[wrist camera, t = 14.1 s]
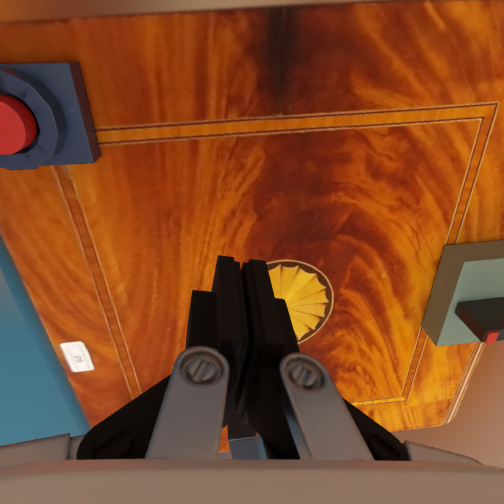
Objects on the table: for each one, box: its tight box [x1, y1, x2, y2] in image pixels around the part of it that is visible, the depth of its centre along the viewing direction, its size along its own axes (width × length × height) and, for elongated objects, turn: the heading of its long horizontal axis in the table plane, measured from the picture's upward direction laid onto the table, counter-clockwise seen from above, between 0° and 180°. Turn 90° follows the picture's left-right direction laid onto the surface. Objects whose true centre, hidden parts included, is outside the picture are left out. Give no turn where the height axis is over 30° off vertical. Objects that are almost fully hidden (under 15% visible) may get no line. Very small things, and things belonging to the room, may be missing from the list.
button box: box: [0, 62, 101, 170], centre depth 25 cm, size 9×7×4 cm
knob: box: [455, 297, 504, 343], centre depth 36 cm, size 6×2×5 cm, turn 92°
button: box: [0, 94, 37, 155], centre depth 23 cm, size 4×4×2 cm
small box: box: [227, 400, 260, 459], centre depth 41 cm, size 11×6×10 cm, turn 5°
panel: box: [422, 240, 504, 346], centre depth 39 cm, size 12×7×4 cm, turn 2°
